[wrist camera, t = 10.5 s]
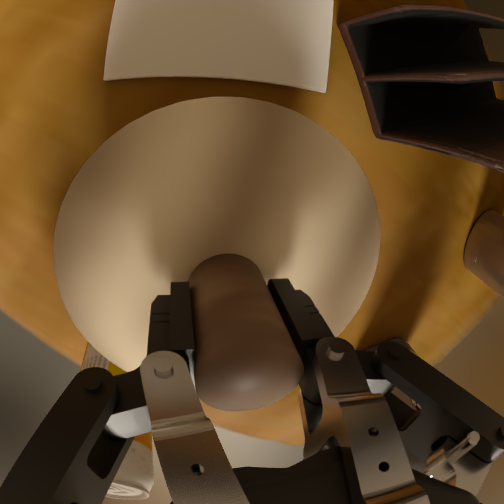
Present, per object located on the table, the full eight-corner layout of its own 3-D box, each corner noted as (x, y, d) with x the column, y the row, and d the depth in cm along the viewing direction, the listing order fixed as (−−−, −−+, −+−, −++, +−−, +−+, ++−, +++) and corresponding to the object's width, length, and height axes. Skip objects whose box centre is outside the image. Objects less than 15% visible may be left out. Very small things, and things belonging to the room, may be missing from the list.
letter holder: (489, 102, 20) (585, 132, 8) (372, 138, 20) (524, 194, 8) (469, 23, 15) (570, 30, 3) (334, 24, 15) (488, -20, 3)
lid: (395, 128, 11) (500, 159, 6) (329, 363, 18) (366, 433, 13) (46, 107, 8) (-57, 122, 2) (100, 378, 14) (90, 463, 9)
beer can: (118, 364, 25) (110, 501, 12) (80, 325, 22) (45, 474, 9) (165, 346, 25) (174, 498, 12) (128, 302, 22) (107, 474, 9)
